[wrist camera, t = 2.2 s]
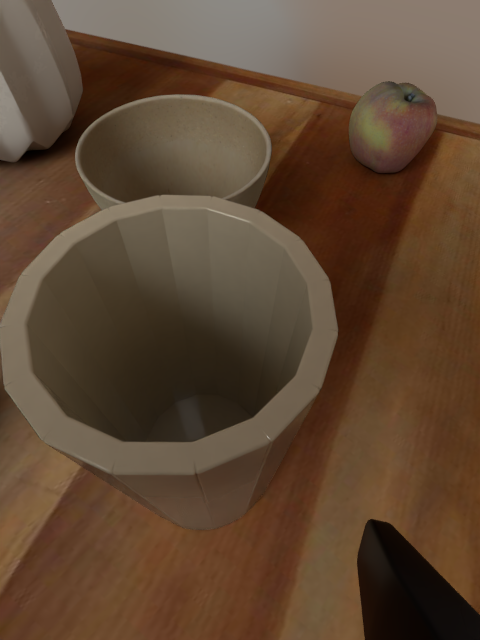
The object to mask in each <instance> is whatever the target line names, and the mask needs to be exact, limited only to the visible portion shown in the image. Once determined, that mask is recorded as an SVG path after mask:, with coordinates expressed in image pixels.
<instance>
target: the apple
mask: <svg viewBox="0 0 480 640" xmlns="http://www.w3.org/2000/svg"><path fill="white" fill-rule="evenodd" d="M436 123H437V111H436V105H435V102H434V101H433V99H431V97H429V96H427V95H426V94H425V93H424V92H423V91H422V90H420V89H419V88H417V87H416V86H414V85H412V84H409V83H400V84H396V83H394V82H390V81H388V82H382V83H380V84H378V85H376V86H374V87H373V88H371V89H370V90H369V91H367V92H366V93H365V94H364V95H363V96H362V98H361V99H360V100H359V102H358V103H357V104H356V106H355V108H354V109H353V112H352V114H351V118H350V123H349V141H350V147H351V151H352V154H353V156H354V157H355V159H356V160H357V161H359V162H360V163H361V164H362V165H364V166H366V167H368V168H370V169H372V170H373V171H375V172H377V173H395V172H398V171H400V170H402V169H403V168H404V167H405V166H407V165H408V164H409V162H410V161H411V160H412V159H413V158H414V157H415V156H416V155H417V154H418V153H419V151H420V150H421V149H422V147H423V146H424V144H425V143H426V142H427V140H428V139H429V137H430V136H431V135H432V133H433V131H434V129H435V127H436ZM338 181H339V180H338Z"/></svg>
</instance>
